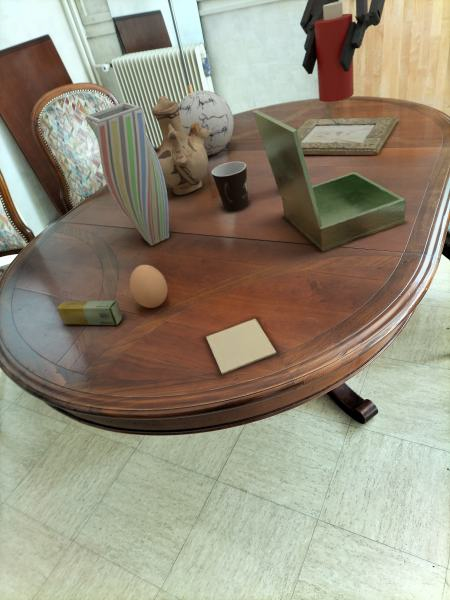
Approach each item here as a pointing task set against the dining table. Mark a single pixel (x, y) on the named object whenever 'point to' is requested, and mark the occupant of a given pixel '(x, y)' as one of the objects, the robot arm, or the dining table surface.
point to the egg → (148, 286)
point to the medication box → (90, 312)
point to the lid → (288, 165)
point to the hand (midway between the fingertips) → (325, 67)
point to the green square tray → (348, 211)
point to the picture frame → (345, 135)
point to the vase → (132, 169)
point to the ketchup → (333, 54)
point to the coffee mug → (232, 185)
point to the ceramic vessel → (180, 149)
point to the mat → (240, 346)
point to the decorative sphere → (208, 118)
